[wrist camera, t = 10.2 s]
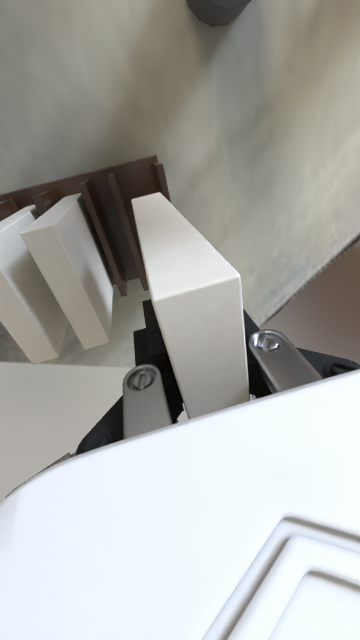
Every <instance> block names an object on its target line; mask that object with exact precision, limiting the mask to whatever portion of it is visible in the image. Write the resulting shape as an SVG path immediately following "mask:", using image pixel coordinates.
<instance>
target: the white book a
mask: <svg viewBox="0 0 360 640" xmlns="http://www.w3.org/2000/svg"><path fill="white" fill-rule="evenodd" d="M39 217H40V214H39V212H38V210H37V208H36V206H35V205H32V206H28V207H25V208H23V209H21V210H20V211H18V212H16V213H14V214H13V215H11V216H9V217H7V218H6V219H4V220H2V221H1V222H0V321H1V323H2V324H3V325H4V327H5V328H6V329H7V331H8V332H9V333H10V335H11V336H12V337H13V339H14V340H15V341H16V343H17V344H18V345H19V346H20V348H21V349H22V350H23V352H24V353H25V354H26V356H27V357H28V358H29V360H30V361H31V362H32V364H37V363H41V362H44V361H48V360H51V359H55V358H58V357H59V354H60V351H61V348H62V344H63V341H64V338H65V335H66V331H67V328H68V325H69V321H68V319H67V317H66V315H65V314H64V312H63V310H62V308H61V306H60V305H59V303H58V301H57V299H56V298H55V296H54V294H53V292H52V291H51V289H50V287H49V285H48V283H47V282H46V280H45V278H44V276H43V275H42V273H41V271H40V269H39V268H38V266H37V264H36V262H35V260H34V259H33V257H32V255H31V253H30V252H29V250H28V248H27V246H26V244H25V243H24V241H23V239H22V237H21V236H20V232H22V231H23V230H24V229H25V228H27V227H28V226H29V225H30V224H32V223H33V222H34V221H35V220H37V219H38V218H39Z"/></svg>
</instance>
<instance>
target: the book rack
mask: <svg viewBox="0 0 360 640" xmlns="http://www.w3.org/2000/svg"><path fill="white" fill-rule="evenodd" d="M158 192H160V193H161V194H162V195H163V196H164V197H165V198H166V199H167V200H168V201H169V202H170V203H171V201H170V196H169V191H168V187H167V182H166V177H165V172H164V168H163V164H162V163H158V159H157V155H154V156H150V157H146V158H142V159H138V160H134V161H131V162H127V163H123V164H119V165H115V166H111V167H107V168H103V169H99V170H95V171H91V172H87V173H83V174H80V175H76V176H72V177H68V178H64V179H60V180H56V181H52V182H48V183H44V184H40V185H36V186H33V187H29V188H25V189H21V190H17V191H13V192H9V193H5V194H1V195H0V222H1V221H2V220H4V219H6V218H7V217H9V216H11V215H13V214H14V213H16V212H18V211H20V210H21V209H23V208H25V207H28V206H32V205H35V206H36V208H37V210H38V212H39V214H40V216H42V215H43V214H44V213H45V212H47V211H48V210H49V209H50V208H52V207H53V206H54V205H55V204H56V203H58V202H59V201H60V200H61V199H63V198H64V197H67V196H70V195H74V194H78V193H82V196H83V199H84V201H85V204H86V206H87V209H88V211H89V214H90V216H91V219H92V222H93V224H94V227H95V229H96V232H97V234H98V237H99V240H100V242H101V245H102V247H103V250H104V252H105V255H106V258H107V260H108V263H109V265H110V268H111V270H112V273H113V275H114V280H113V284H117V286H118V288H119V291H120V293H121V296H122V297H123V296H127V283H126V281H128V280H131V279H135V278H138V277H140V279H141V282H142V285H143V288H144V291H145V290H149V286H148V281H147V276H146V271H145V266H144V261H143V256H142V251H141V247H140V242H139V237H138V232H137V227H136V222H135V217H134V212H133V207H132V202H131V200H132V199H135V198H139V197H143V196H147V195H150V194H154V193H158Z"/></svg>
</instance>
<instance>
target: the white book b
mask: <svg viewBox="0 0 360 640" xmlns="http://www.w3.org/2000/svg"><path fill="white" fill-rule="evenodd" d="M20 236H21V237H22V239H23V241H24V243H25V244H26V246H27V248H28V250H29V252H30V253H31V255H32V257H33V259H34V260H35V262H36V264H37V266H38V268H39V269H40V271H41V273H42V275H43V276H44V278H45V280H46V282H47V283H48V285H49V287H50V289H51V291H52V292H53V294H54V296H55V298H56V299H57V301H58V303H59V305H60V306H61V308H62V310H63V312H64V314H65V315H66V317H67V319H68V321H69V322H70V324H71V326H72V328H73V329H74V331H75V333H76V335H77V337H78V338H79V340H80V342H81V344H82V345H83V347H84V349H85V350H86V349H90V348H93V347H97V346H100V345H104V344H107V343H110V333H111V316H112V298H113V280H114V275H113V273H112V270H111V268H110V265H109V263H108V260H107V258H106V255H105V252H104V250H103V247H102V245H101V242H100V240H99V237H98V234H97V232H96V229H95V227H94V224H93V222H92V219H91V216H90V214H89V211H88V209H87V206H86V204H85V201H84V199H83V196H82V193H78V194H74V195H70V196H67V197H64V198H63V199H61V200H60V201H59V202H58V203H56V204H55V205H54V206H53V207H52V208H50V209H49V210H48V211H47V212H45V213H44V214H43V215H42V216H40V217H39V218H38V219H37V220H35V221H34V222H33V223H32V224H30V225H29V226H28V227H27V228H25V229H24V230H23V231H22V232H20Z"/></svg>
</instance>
